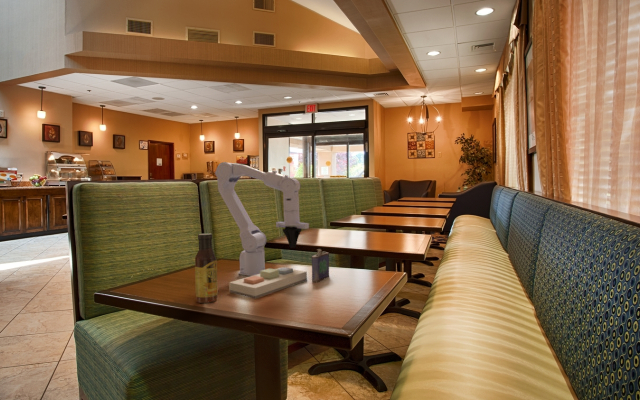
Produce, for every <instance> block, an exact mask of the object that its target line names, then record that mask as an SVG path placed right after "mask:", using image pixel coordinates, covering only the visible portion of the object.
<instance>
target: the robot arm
mask: <svg viewBox="0 0 640 400" xmlns="http://www.w3.org/2000/svg"><path fill="white" fill-rule="evenodd" d="M214 174H215V176H216V179H217V181H216V182H217V190H218V193H219V195H220V196H221V198H222V200H223V202H224V203H225V205H226V207H227V209H228V210H229V213H230V214H231V216H232V218H233V219H234V222H235V223H236V225H237V226H238V228H239V238H240V240H241V241H240V242H241V247H242V248H243V250H242V251H241V252H240V254H239V272H237V273H238V275H242V276H247V277H250V276H253V275H257V274H260V271H262V270H265V269H266V264H265V261H266V260H265V247H264V246H265V245H266V244H267V237H266V234H265V233H264V232H262V231H261V229H260V228H259V227H258V226H257V225H255V224H254V223H253V221H252V219H251V218H250V216H249V214H248V212H247V210H246V209H245V206H244V205H243V203H242V201H241V199H240V198H239V196H238V194H237V192H236V190H235V186H236V184H237V182H238V181H239V179H241V177H245V176H246V177H250V178H253V179H256V180H259V181H262V182H263V184H264V185H265V186H267V187H269V188H272V189H275V190H276V191H277V190H278V191H281V192H282V193H283V194H282V195H283V197H282V198H283V221H276V222H275V227H276V228H284V229H282V232H283V234H284V235H285V237H286V239H287V242H288V246H289V248H290V249H294V248H296V247H297V243H298V239H299V237H300V234H301V232H302V229H303V230H309V228H310V223H309V222H301V221H300V220H301V219H300V198H299V197H300V196H299V191H300V189H301V182H300V181H299V180H298V179H297V178H295V177H289V175H287V174H285V175H284V174H281V173H278V171H277V170H275V169H274V170H273V169H272V170H269V171H267V172H265V171H262V170H259V169H257V168H255V167H254V168H253V167H252V166H249V165H246V164H243V163H238V162H237V163H236V162H233V163H232V162H227V161H223V162H220V163H219V164H218V165H217V167H216V169H215V171H214Z"/></svg>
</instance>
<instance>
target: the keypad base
mask: <svg viewBox="0 0 640 400" xmlns="http://www.w3.org/2000/svg"><path fill="white" fill-rule="evenodd" d="M280 268H283V266H282V267H279V268H277V269H280ZM292 269H293V272H292V273H289V274H286V275H282V274H279V277H276V278H273V279H264V281H263V282H260V283H257V284H254V285H253V284H248V283H244V279H245V278H248V277H252V276H247V277H244V278H240V279H237V280H233V281H230V282H228V283H229V284H228V286H229V287H228V288H229V289H228V290H229V293H232V294H235V295H239V296H243V297H248V298H251V299H259V298H262V297H264V296H267V295H270V294H273V293H275V292H279V291H282V290H284V289H287V288H290V287H292V286H293V287H294V286H296V285H298V284H299V285H300V284H302V283H304V282H307V281H308V277H307V276H308V274H307V271H306V270H299V269H294V268H292ZM253 276H258V277H260V274H257V275H253Z"/></svg>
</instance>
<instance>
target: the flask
mask: <svg viewBox="0 0 640 400" xmlns="http://www.w3.org/2000/svg"><path fill="white" fill-rule="evenodd" d="M316 251H317V254H313V255H312V256H311V280H312V281H311V282H312V283H317V282H318V283H319V282H320V281H321V282H322V281H324V280H326V279H328V278H330V252H327V251H322V249H321V248H318V249H316Z"/></svg>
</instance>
